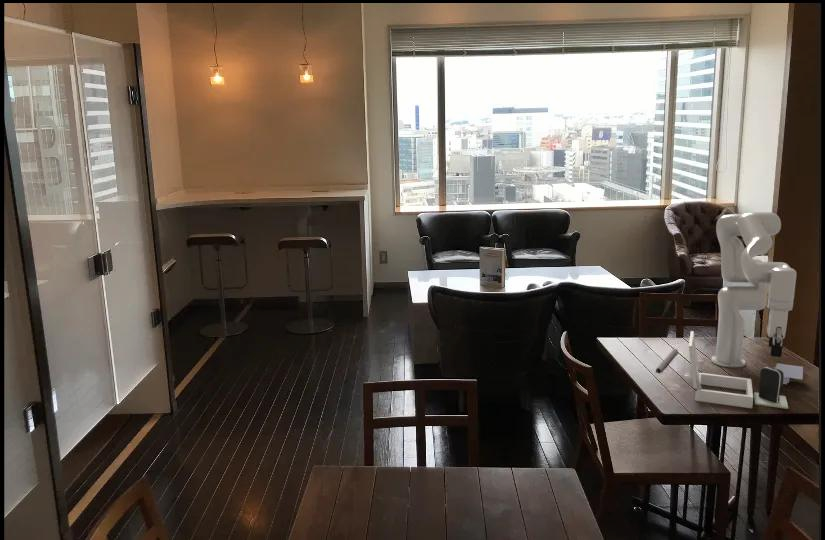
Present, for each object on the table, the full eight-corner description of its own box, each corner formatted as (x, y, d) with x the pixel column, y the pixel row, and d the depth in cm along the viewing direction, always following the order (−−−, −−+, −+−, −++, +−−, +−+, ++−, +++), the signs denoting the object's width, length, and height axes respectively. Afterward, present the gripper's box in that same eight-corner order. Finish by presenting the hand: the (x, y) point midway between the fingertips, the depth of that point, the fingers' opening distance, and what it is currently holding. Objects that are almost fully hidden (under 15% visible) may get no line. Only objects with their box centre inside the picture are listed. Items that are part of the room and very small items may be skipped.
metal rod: (677, 353, 283) (677, 349, 282) (660, 373, 261) (661, 368, 260) (672, 352, 284) (673, 348, 283) (655, 372, 262) (656, 367, 261)
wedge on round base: (800, 379, 251) (761, 374, 257) (802, 362, 250) (763, 357, 256) (801, 388, 243) (761, 382, 249) (803, 370, 242) (763, 365, 248)
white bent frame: (687, 381, 252) (690, 330, 247) (750, 389, 243) (755, 337, 239) (684, 399, 236) (688, 345, 231) (752, 408, 227) (757, 352, 223)
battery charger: (782, 401, 230) (786, 370, 228) (776, 403, 229) (779, 372, 226) (764, 394, 236) (767, 364, 234) (757, 396, 235) (760, 366, 232)
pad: (753, 393, 239) (753, 392, 239) (785, 397, 235) (785, 396, 235) (754, 404, 230) (755, 402, 230) (787, 408, 226) (788, 407, 226)
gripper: (766, 296, 234) (761, 342, 238) (769, 309, 219) (763, 358, 223) (790, 298, 231) (785, 344, 235) (795, 312, 216) (789, 361, 220)
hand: (774, 351), depth 229 cm, fingers open, 9 cm apart
